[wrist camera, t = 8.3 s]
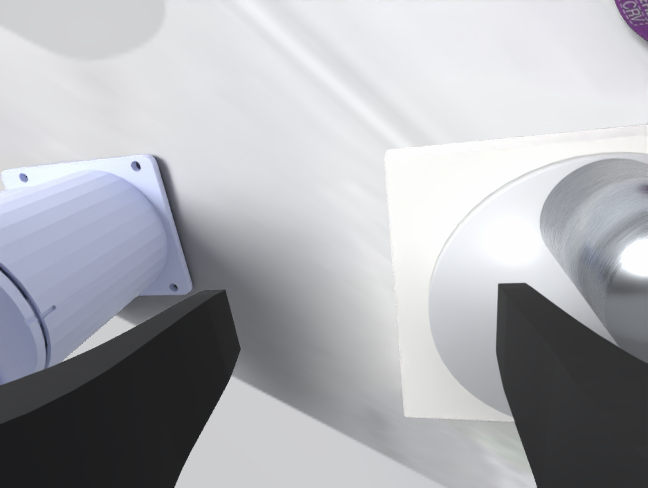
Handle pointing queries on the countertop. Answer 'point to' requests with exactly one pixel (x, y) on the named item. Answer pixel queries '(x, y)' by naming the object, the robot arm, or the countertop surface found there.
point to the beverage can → (635, 15)
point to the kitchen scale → (478, 256)
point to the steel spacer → (605, 244)
